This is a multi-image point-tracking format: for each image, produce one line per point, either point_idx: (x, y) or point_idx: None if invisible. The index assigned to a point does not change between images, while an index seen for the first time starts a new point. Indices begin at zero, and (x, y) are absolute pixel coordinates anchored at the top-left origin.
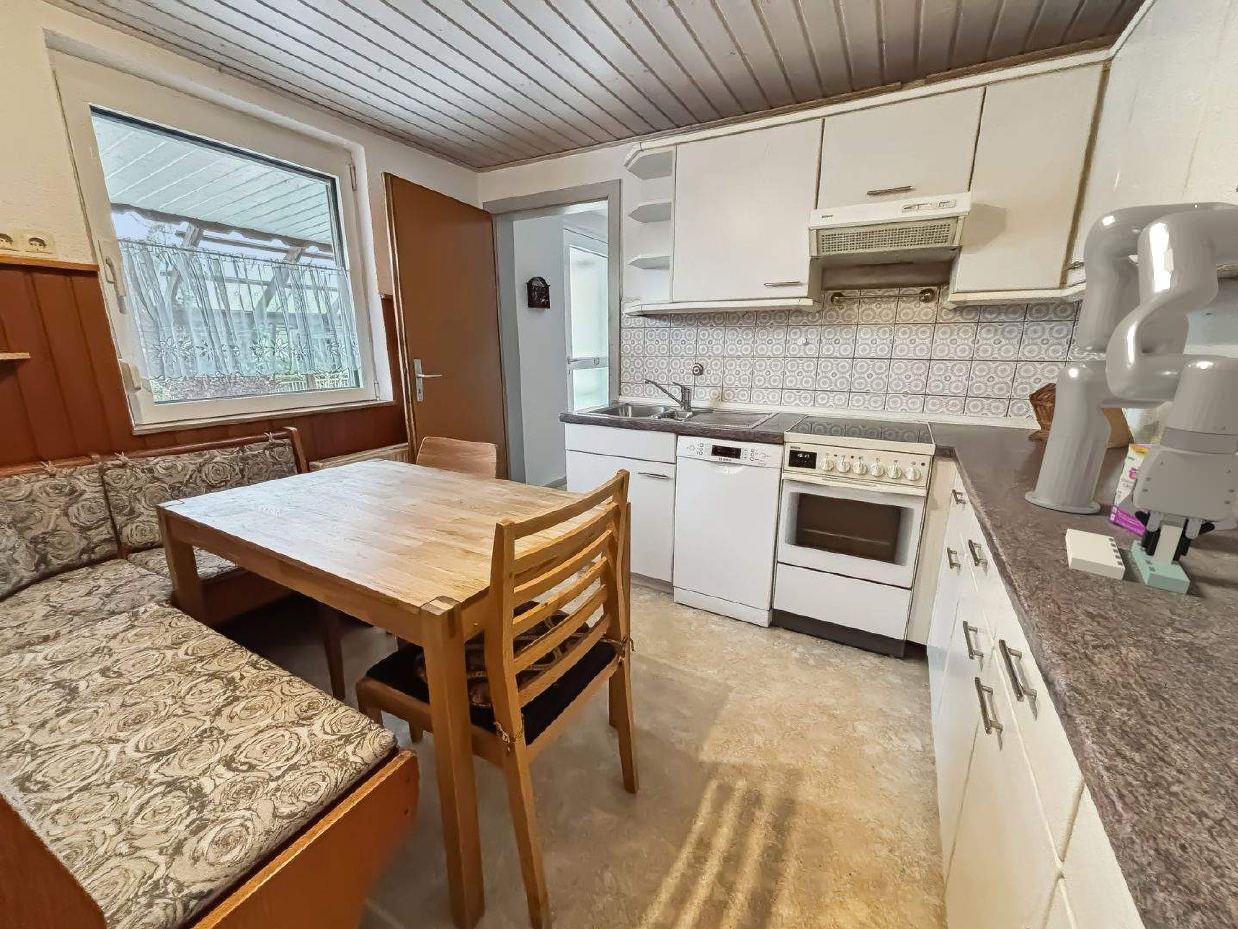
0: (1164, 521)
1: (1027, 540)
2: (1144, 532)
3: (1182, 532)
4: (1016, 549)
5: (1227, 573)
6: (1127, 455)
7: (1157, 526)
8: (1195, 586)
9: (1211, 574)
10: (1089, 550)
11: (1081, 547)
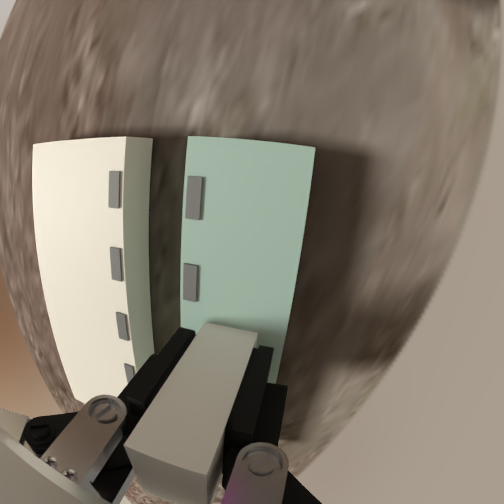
0: (142, 466)
1: (16, 235)
2: (126, 388)
3: (224, 485)
4: (21, 312)
5: (467, 209)
6: None
7: (133, 472)
8: (311, 386)
9: (415, 253)
10: (80, 348)
11: (66, 331)
